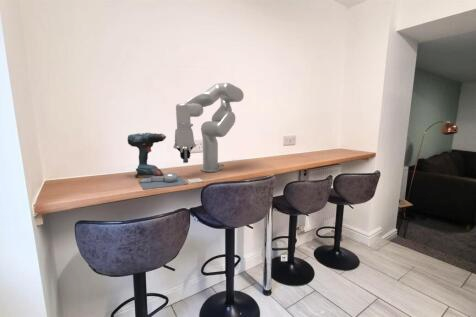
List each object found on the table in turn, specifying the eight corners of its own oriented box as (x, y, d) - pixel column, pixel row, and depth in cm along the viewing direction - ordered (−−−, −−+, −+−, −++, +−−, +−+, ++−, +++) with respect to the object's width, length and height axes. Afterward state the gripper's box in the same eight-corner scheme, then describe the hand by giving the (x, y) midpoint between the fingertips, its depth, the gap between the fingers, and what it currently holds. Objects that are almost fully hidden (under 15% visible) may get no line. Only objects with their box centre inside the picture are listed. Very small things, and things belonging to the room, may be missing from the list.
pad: (199, 178, 134) (199, 178, 133) (203, 181, 128) (203, 181, 128) (186, 180, 130) (186, 179, 130) (191, 183, 124) (191, 182, 124)
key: (187, 161, 139) (186, 148, 138) (188, 162, 137) (188, 148, 135) (182, 162, 138) (181, 148, 136) (184, 163, 136) (183, 149, 134)
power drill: (165, 178, 131) (162, 133, 127) (127, 177, 135) (123, 133, 131) (172, 175, 139) (170, 132, 135) (137, 173, 144) (133, 132, 140)
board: (178, 176, 139) (178, 175, 139) (188, 184, 123) (188, 183, 123) (137, 180, 128) (137, 180, 128) (143, 189, 112) (143, 189, 112)
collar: (178, 178, 131) (178, 172, 130) (176, 182, 124) (175, 175, 123) (142, 179, 129) (142, 172, 129) (138, 182, 122) (138, 175, 122)
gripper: (195, 125, 141) (196, 156, 144) (167, 126, 133) (169, 158, 136) (200, 126, 134) (201, 158, 138) (171, 127, 126) (173, 161, 130)
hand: (185, 158), depth 137 cm, fingers closed on key, 2 cm apart
